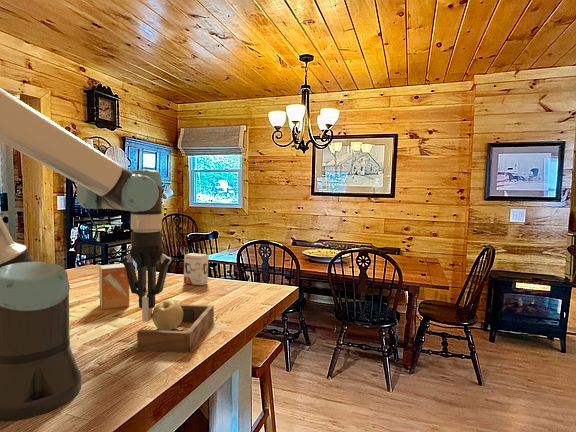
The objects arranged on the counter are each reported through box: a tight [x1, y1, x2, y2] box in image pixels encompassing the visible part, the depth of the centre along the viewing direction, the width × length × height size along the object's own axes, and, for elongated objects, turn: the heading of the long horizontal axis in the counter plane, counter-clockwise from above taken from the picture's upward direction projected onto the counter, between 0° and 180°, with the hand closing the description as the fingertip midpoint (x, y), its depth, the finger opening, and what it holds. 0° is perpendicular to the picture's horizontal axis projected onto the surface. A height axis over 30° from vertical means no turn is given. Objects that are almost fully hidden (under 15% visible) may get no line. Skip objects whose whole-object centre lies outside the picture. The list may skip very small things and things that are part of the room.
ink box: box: [183, 252, 209, 286], centre depth 149 cm, size 9×5×12 cm, turn 70°
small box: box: [98, 263, 130, 310], centre depth 119 cm, size 8×6×13 cm
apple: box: [151, 299, 183, 331], centre depth 99 cm, size 8×8×8 cm
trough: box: [136, 303, 215, 353], centre depth 96 cm, size 21×12×4 cm, turn 177°
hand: (147, 319), depth 97 cm, fingers closed
